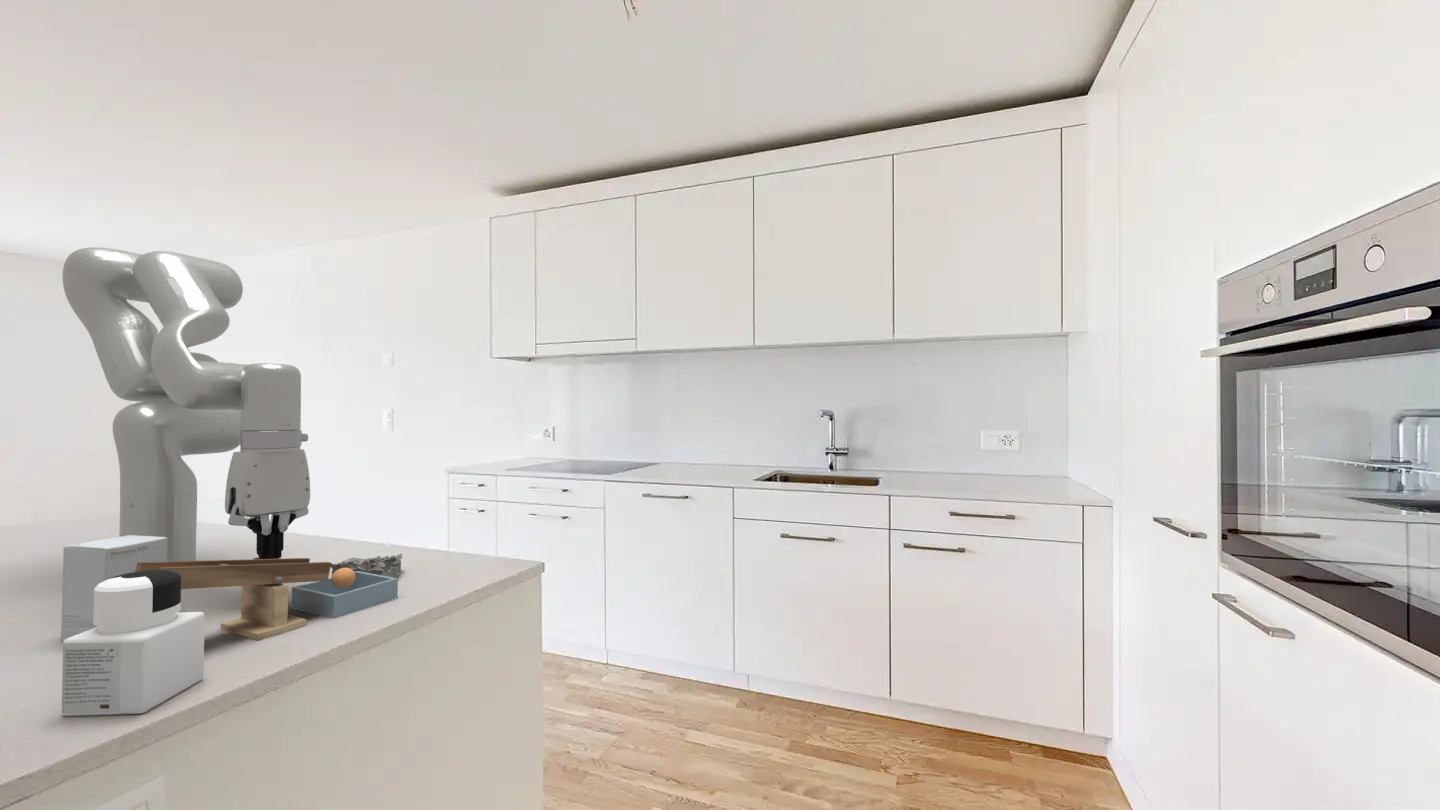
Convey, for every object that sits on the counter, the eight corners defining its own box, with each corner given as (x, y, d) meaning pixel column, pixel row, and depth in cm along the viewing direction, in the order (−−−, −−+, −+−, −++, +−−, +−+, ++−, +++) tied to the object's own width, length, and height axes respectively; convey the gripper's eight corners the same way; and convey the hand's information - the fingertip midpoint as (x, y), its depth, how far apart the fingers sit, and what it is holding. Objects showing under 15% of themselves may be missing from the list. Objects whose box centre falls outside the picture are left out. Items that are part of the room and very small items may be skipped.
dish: (291, 610, 89) (291, 587, 89) (356, 591, 98) (357, 570, 98) (333, 620, 85) (333, 596, 85) (397, 600, 94) (397, 578, 94)
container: (131, 681, 65) (134, 565, 65) (205, 679, 65) (207, 564, 65) (58, 717, 57) (61, 586, 57) (143, 715, 58) (145, 585, 58)
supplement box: (102, 647, 74) (104, 548, 74) (58, 642, 75) (60, 545, 75) (167, 626, 81) (169, 536, 81) (127, 622, 82) (128, 533, 82)
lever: (94, 573, 75) (100, 553, 75) (271, 567, 93) (275, 550, 94) (160, 591, 68) (166, 569, 68) (337, 580, 86) (341, 563, 87)
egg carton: (326, 588, 99) (326, 564, 99) (340, 576, 107) (341, 553, 107) (395, 583, 102) (395, 560, 102) (405, 571, 110) (405, 550, 110)
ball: (337, 562, 92) (351, 573, 94) (322, 580, 89) (336, 591, 92) (350, 564, 90) (364, 575, 92) (335, 583, 88) (349, 593, 90)
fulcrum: (220, 629, 80) (221, 584, 80) (269, 615, 85) (269, 573, 85) (257, 640, 76) (258, 593, 76) (306, 625, 82) (306, 581, 82)
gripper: (306, 439, 99) (305, 545, 99) (200, 443, 86) (198, 567, 86) (334, 440, 96) (333, 550, 96) (228, 444, 83) (227, 572, 83)
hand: (270, 557), depth 91 cm, fingers closed
